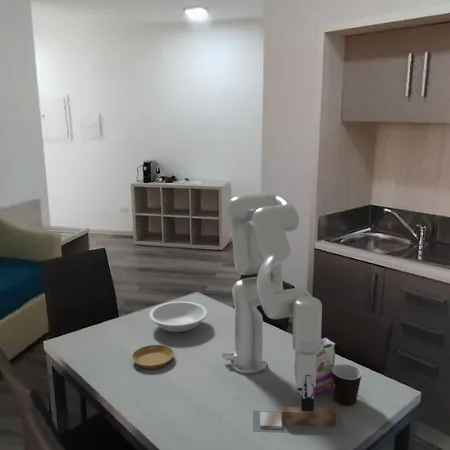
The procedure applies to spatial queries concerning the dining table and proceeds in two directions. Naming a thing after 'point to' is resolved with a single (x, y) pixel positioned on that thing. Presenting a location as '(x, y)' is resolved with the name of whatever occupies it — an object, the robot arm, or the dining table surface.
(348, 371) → the coffee mug
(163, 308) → the soup bowl
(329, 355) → the candy bar box
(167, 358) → the plant saucer
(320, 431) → the mat
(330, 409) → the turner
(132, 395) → the dining table surface
